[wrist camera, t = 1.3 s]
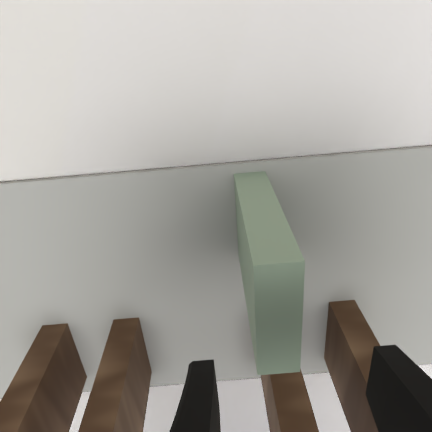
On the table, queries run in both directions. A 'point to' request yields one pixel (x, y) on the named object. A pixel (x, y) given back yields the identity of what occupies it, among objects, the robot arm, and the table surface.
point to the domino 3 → (288, 403)
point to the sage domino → (269, 275)
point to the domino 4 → (350, 361)
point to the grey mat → (214, 258)
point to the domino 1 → (45, 385)
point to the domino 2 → (120, 382)
